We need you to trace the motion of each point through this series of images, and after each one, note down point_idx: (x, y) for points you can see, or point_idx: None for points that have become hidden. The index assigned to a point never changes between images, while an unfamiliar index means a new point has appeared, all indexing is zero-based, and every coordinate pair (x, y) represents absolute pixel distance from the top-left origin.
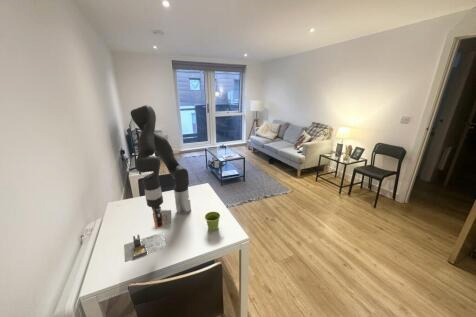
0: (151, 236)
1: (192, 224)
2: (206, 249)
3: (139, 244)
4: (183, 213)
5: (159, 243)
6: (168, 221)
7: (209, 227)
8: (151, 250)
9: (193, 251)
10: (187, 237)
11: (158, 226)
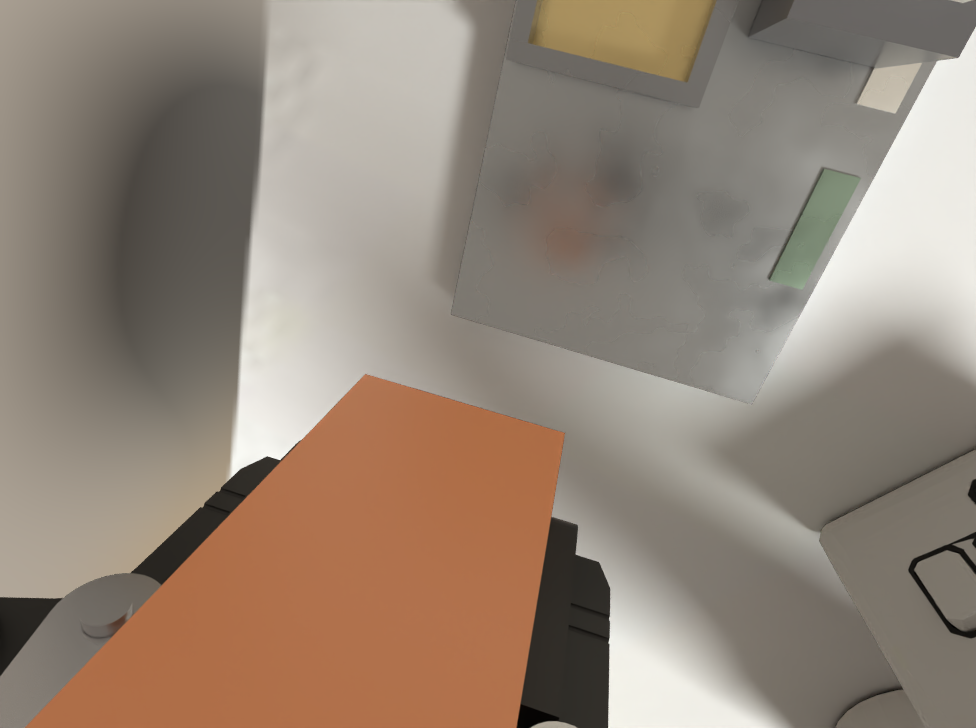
0: (810, 255)
1: (609, 642)
2: None
3: (767, 7)
4: (860, 715)
5: (572, 273)
6: (869, 560)
7: None
8: (526, 134)
9: (276, 445)
10: None
11: None
